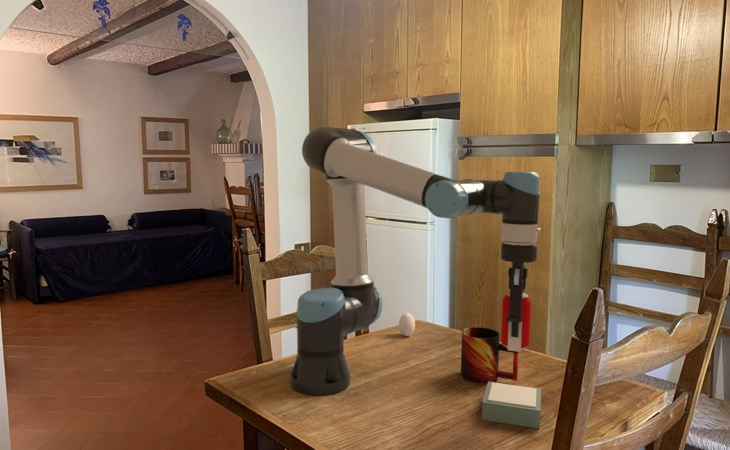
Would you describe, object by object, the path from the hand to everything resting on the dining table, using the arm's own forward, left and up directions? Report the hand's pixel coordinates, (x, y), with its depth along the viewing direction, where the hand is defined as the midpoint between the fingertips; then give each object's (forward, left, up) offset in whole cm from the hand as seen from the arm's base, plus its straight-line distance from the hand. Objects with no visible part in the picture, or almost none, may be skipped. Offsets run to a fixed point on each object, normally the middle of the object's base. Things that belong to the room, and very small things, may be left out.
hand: (515, 345), depth 118 cm
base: (0, 0, -16) cm, 16 cm away
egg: (-36, +45, -16) cm, 60 cm away
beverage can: (0, 0, -1) cm, 1 cm away
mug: (-8, +19, -16) cm, 26 cm away
